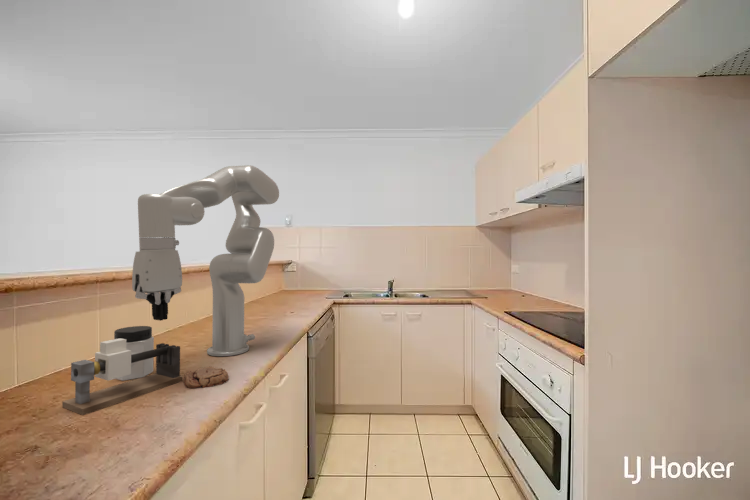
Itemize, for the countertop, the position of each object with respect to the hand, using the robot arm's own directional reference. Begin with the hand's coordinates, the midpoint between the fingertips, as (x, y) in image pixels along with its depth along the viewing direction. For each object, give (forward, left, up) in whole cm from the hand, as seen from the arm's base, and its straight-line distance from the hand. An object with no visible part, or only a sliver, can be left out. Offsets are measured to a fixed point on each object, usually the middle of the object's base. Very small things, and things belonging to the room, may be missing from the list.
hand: (160, 319), depth 88 cm
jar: (0, -11, -16) cm, 19 cm away
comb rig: (+7, 0, -15) cm, 17 cm away
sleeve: (+11, 0, -11) cm, 15 cm away
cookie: (-6, +10, -16) cm, 19 cm away
